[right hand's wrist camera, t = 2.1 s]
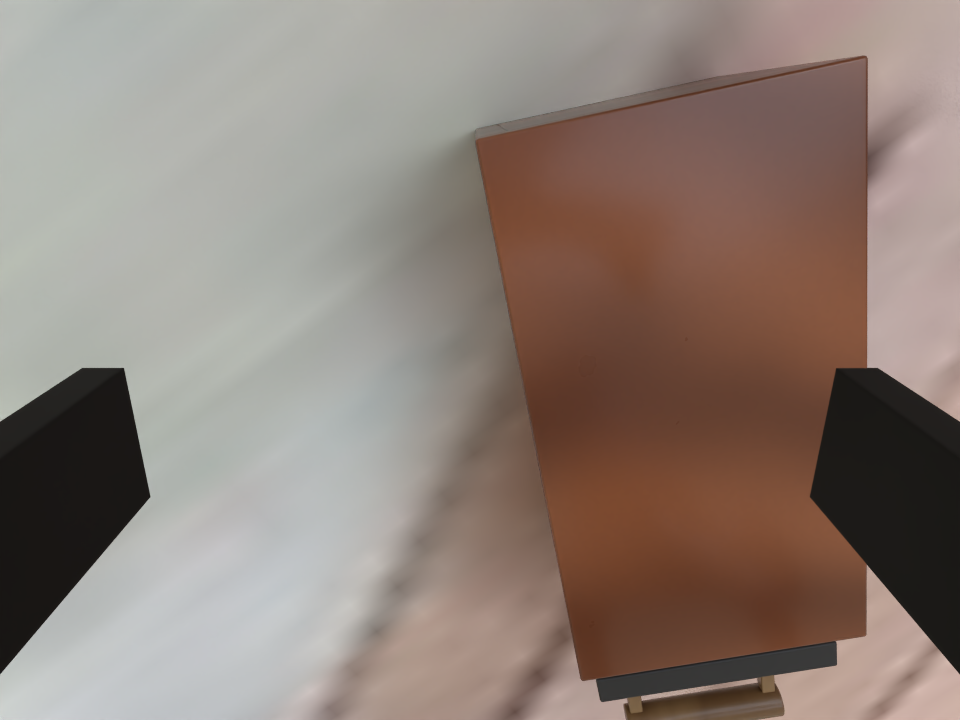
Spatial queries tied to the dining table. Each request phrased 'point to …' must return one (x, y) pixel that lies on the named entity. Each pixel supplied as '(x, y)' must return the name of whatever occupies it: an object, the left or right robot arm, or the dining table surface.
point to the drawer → (721, 712)
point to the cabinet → (689, 354)
